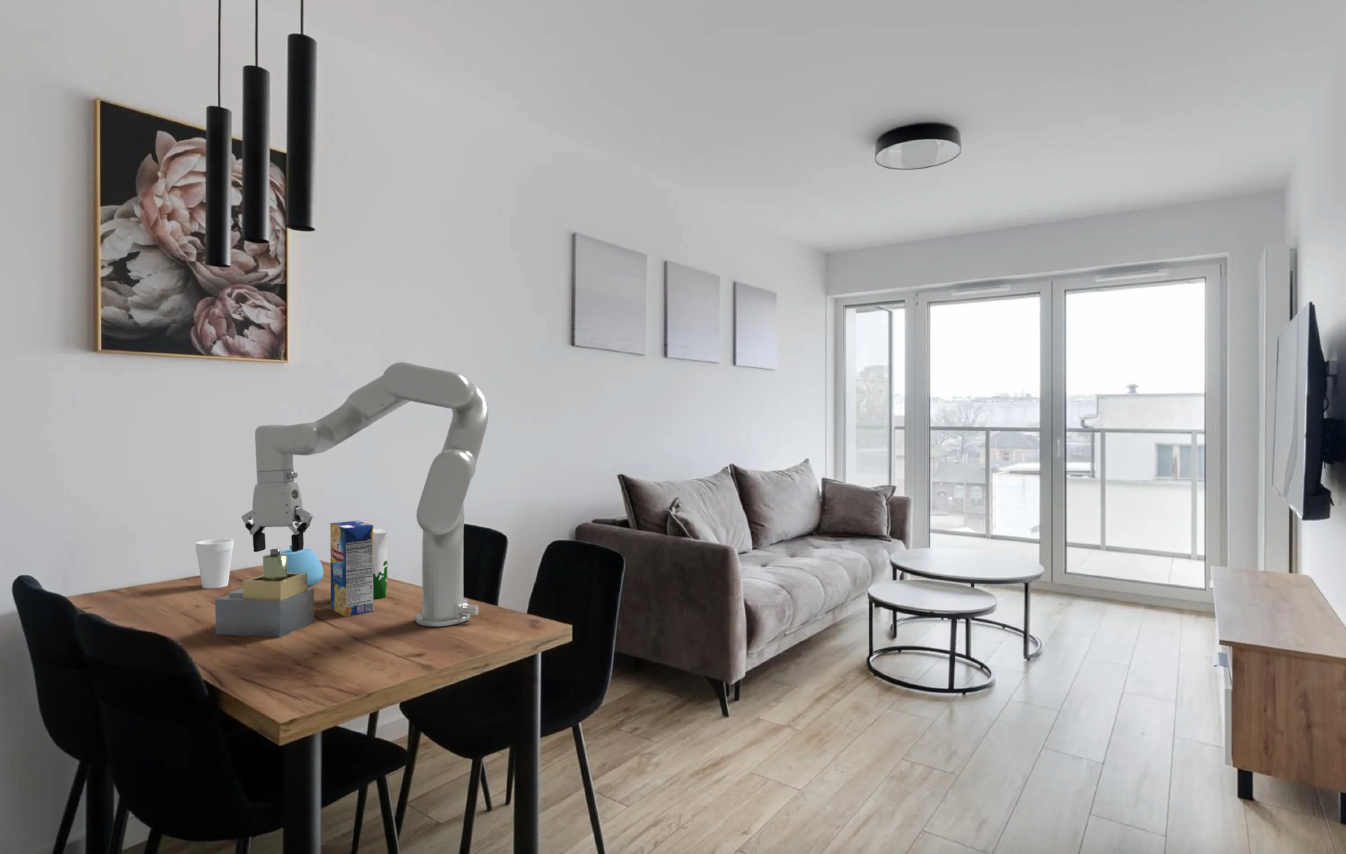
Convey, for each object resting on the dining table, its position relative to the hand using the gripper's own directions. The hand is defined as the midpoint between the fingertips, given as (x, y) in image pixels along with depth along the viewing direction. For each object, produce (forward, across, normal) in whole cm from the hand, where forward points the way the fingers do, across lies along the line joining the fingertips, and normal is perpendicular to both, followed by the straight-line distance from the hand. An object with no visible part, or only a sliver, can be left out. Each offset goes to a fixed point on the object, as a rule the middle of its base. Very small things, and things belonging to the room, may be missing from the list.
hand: (278, 550), depth 166 cm
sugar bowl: (+18, +26, -41) cm, 51 cm away
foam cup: (+17, +47, -35) cm, 61 cm away
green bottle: (+10, +1, 0) cm, 10 cm away
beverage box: (+19, -7, -17) cm, 26 cm away
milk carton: (+19, -4, -30) cm, 35 cm away
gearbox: (+18, +4, 0) cm, 18 cm away
